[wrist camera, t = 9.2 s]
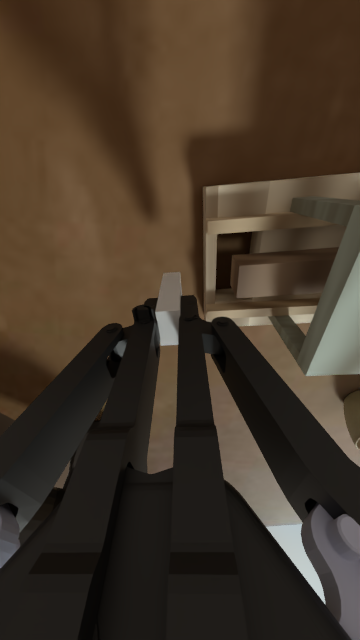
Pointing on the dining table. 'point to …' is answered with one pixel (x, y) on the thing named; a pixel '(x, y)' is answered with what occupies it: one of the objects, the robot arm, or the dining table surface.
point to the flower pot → (353, 416)
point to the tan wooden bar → (281, 272)
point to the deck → (287, 235)
